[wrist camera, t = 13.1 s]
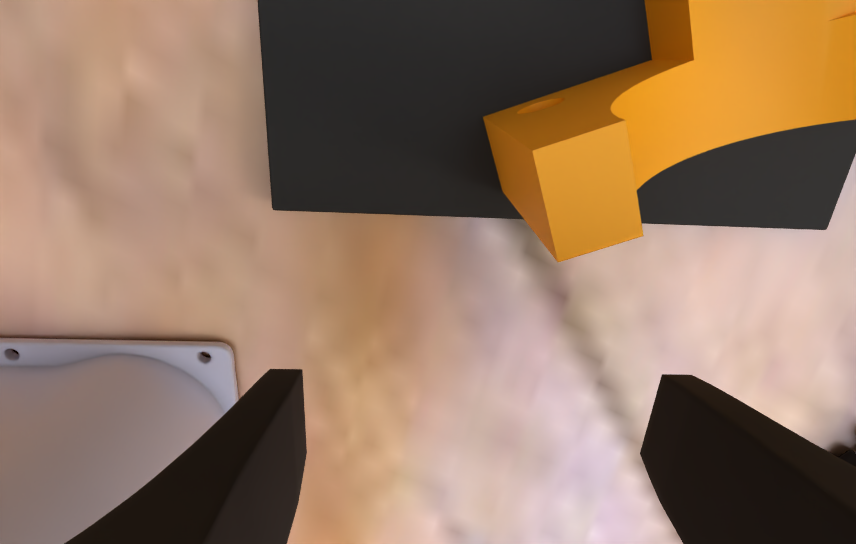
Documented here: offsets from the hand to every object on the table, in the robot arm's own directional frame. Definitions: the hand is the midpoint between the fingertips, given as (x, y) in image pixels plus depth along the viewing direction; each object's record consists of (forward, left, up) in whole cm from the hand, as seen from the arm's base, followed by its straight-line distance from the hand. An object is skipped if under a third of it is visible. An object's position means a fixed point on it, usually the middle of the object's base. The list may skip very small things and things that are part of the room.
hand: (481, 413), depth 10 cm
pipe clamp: (+7, +7, -9) cm, 13 cm away
